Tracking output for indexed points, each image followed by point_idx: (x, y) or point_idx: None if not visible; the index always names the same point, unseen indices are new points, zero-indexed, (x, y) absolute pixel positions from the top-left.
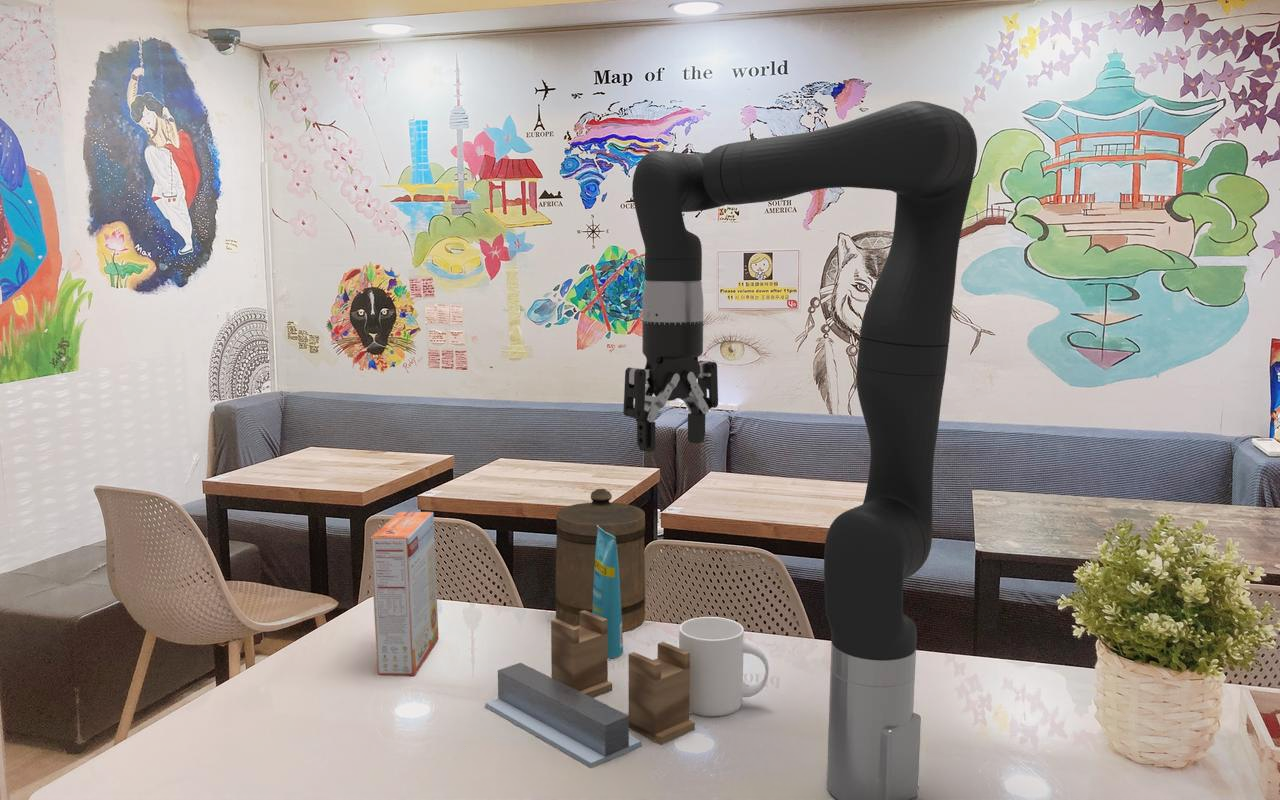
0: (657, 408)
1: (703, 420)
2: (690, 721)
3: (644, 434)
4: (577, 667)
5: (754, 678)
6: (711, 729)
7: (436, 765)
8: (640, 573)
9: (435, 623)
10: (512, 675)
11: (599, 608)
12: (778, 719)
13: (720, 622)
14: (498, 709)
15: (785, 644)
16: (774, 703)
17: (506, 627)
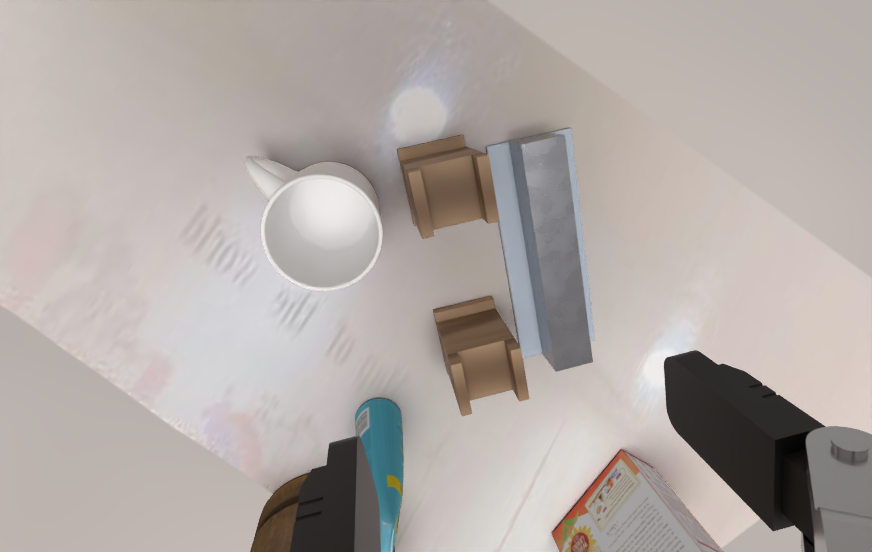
0: (843, 507)
1: (322, 530)
2: (401, 155)
3: (785, 399)
4: (497, 323)
5: (221, 250)
6: (375, 138)
7: (705, 228)
8: (270, 549)
9: (570, 544)
10: (585, 338)
11: (401, 452)
12: (266, 112)
13: (281, 266)
14: (591, 316)
15: (98, 334)
16: (241, 161)
17: (458, 540)
